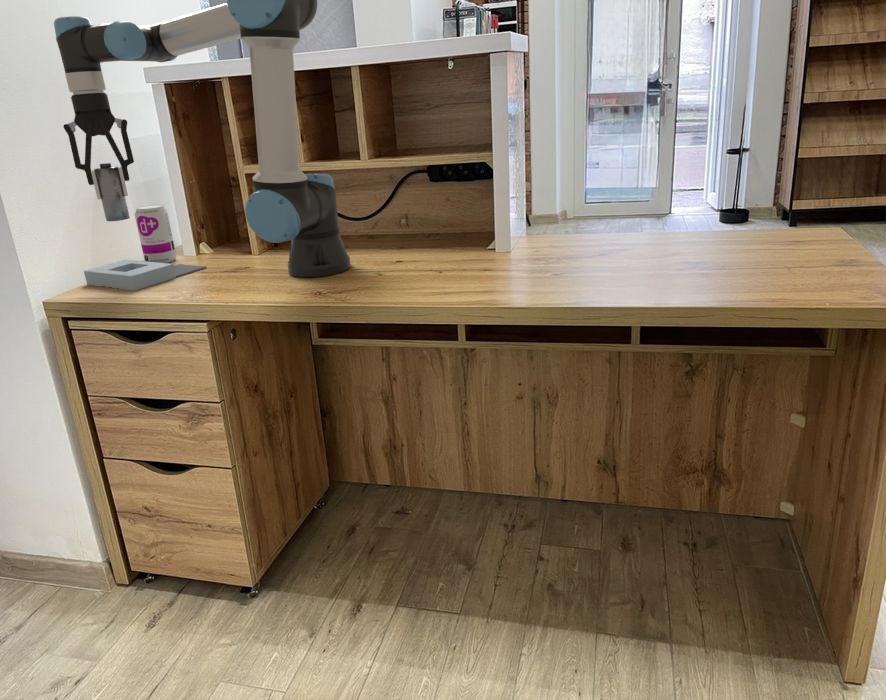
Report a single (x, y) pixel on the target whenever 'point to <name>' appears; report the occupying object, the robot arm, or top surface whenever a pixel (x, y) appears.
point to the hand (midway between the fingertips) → (112, 196)
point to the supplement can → (155, 234)
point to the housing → (130, 274)
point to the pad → (186, 269)
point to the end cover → (111, 192)
